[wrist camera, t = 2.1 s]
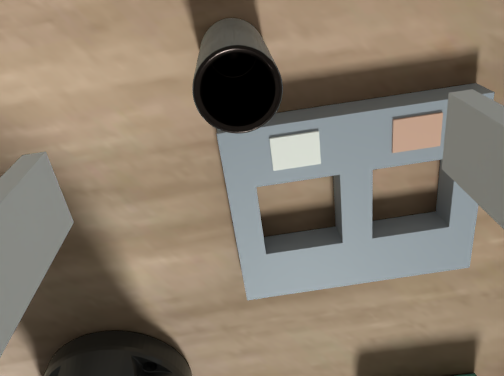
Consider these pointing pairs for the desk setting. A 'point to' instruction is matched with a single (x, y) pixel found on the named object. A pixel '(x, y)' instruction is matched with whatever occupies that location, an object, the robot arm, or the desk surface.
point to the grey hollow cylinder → (236, 78)
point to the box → (467, 375)
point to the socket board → (347, 194)
